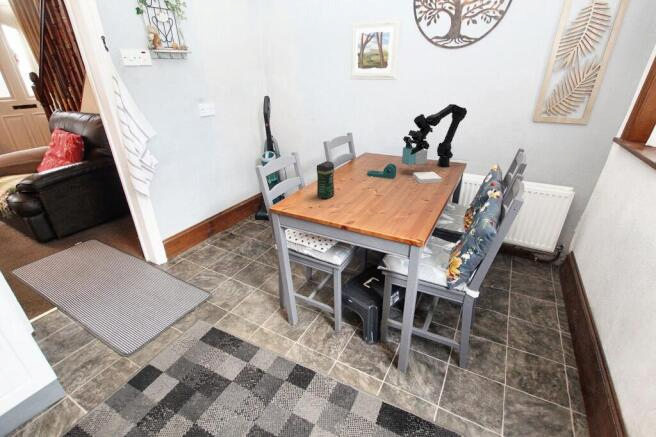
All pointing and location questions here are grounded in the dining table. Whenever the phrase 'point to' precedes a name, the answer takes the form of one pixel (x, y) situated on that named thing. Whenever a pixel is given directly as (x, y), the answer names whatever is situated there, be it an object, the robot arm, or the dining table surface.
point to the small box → (421, 157)
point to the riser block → (427, 177)
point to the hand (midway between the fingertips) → (407, 153)
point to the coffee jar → (325, 179)
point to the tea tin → (408, 156)
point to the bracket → (384, 172)
